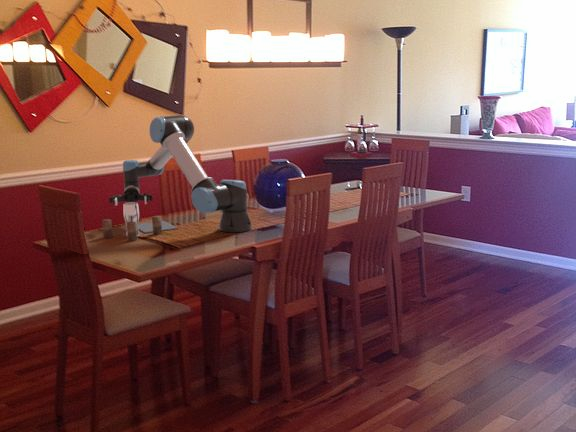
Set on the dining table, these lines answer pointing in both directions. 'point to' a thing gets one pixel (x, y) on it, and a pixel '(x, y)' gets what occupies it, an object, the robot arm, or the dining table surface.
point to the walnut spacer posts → (131, 228)
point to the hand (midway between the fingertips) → (130, 202)
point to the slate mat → (149, 227)
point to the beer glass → (131, 214)
